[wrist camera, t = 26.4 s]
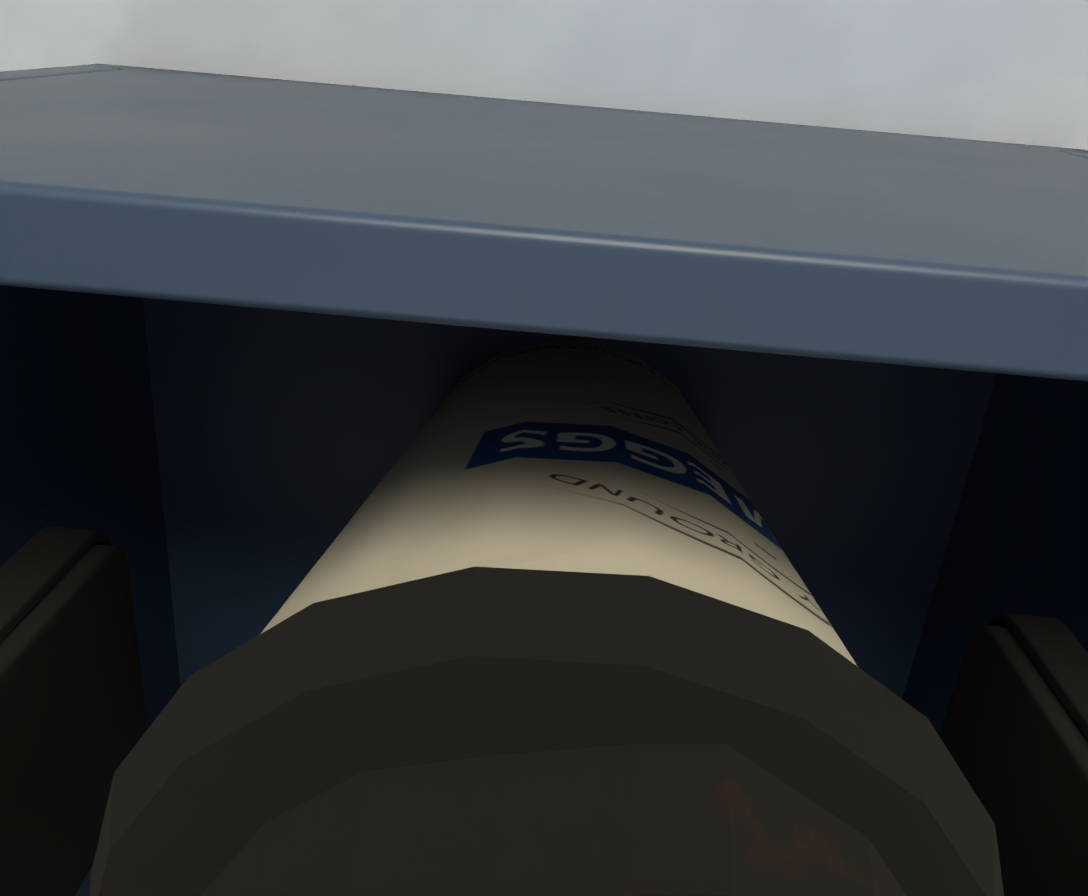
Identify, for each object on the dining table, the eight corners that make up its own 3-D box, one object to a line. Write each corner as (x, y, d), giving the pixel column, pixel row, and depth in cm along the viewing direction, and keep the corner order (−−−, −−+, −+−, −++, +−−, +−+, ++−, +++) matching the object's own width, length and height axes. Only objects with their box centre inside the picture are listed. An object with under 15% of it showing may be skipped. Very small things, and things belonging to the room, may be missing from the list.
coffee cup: (552, 722, 17) (513, 1522, 8) (258, 461, 15) (-239, 1118, 6) (877, 492, 15) (1331, 1224, 6) (581, 155, 13) (568, 452, 4)
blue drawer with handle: (-63, 668, 18) (-610, 1211, 10) (-205, 36, 13) (-1451, 55, 5) (902, 755, 18) (1171, 1378, 10) (1086, 149, 13) (1885, 349, 5)
